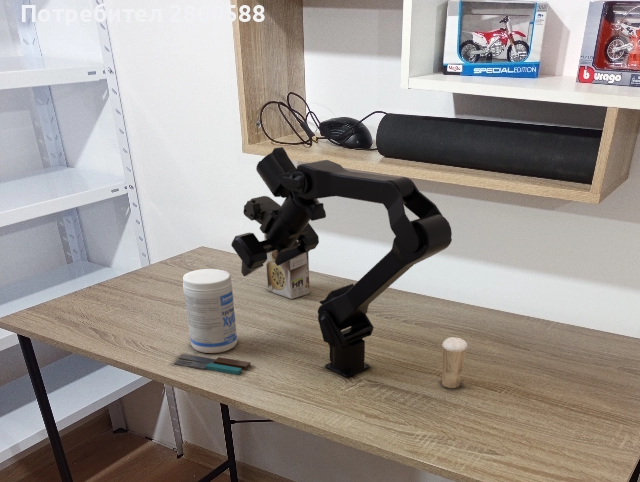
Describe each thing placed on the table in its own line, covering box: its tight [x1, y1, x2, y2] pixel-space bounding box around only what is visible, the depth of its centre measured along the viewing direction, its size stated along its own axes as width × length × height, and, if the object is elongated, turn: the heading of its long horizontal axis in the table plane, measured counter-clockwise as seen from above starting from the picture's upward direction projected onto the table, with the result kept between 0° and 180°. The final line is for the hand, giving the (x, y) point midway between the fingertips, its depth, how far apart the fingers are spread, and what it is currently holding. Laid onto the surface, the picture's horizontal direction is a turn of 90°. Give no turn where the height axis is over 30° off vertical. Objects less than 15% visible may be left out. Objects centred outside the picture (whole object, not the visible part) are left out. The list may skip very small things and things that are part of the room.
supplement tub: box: [182, 268, 238, 354], centre depth 138 cm, size 10×10×15 cm
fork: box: [173, 358, 243, 376], centre depth 133 cm, size 14×2×1 cm, turn 71°
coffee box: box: [263, 233, 311, 300], centre depth 164 cm, size 9×6×16 cm
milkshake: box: [441, 336, 472, 389], centre depth 126 cm, size 4×5×10 cm
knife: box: [178, 353, 252, 371], centre depth 135 cm, size 15×2×1 cm, turn 71°
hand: (260, 269), depth 139 cm, fingers open, 9 cm apart
